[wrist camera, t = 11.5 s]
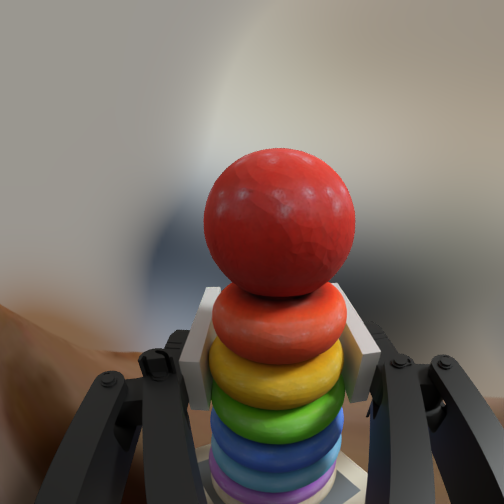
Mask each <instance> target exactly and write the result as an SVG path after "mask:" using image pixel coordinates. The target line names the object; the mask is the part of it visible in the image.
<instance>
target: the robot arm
mask: <svg viewBox="0 0 504 504" xmlns="http://www.w3.org/2000/svg"><path fill="white" fill-rule="evenodd" d="M331 284H332V285H334V286H335V287H336V288H337V289H338V290H339V292H340V293H341V294H342V296H343V298H344V300H345V303H346V308H347V320H346V325H345V328H344V330H343V332H342V334H341V336H340V337H339V340H340V342H341V344H342V347H343V352H344V365H343V369H342V372H341V374H342V376H343V379H344V384H345V390H346V393H347V396H348V398H349V401H350V403H355V402H361V401H366V400H367V398H368V395H369V392H370V393H371V395H372V398H373V399H372V402H371V404H370V407H369V410H368V412H367V416H366V417H369V415H370V446H369V464H368V477H367V487H366V496H365V504H435V487H434V472H433V461H432V454H433V456H434V458H435V461H436V464H437V466H438V469H439V471H440V474H441V477H442V479H443V482H444V485H445V488H446V490H447V493H448V496H449V499H450V502H451V504H504V429H503V427H502V426H501V424H500V422H499V421H498V419H497V418H496V416H495V414H494V413H493V411H492V410H491V408H490V407H489V405H488V404H487V402H486V401H485V399H484V398H483V396H482V395H481V394H480V392H479V391H478V389H477V388H476V387H475V385H474V384H473V382H472V381H471V380H470V378H469V377H468V376H467V374H466V373H465V371H464V370H463V369H462V367H461V366H460V365H459V363H458V362H457V361H456V360H455V359H454V358H452V357H450V356H448V355H438V356H435V357H434V358H433V359H432V361H431V364H415V363H414V361H413V360H412V359H411V358H410V357H409V356H407V355H404V354H399V353H398V352H397V350H396V349H395V347H394V346H393V344H392V343H391V341H390V340H389V339H388V337H387V336H386V334H384V331H383V330H382V328H381V327H380V326H379V325H377V324H376V323H374V322H364V323H363V322H362V320H361V318H360V317H359V315H358V314H357V312H356V311H355V309H354V308H353V306H352V305H351V303H350V301H349V300H348V298H347V297H346V295H345V294H344V292H343V291H342V289H341V288H340V286H339V285H338V283H331ZM220 293H221V292H220V287H207V288H206V291H205V293H204V296H203V299H202V301H201V303H200V306H199V308H198V311H197V314H196V317H195V319H194V322H193V324H192V327H191V329H190V330H176V331H175V332H174V333H172V334H171V335H170V337H169V339H168V341H167V344H166V345H165V349H162V348H155V349H151V350H148V351H146V352H144V353H142V354H141V355H140V356H139V359H138V362H139V365H140V368H141V371H142V374H143V377H141V378H136V379H126V380H125V379H124V376H123V375H122V374H121V373H120V372H117V371H107V372H103V373H101V374H100V375H98V376H97V377H96V379H95V380H94V382H93V384H92V385H91V387H90V389H89V391H88V392H87V394H86V396H85V398H84V400H83V401H82V403H81V405H80V407H79V409H78V411H77V413H76V414H75V416H74V418H73V420H72V422H71V424H70V426H69V428H68V430H67V432H66V434H65V436H64V438H63V440H62V442H61V444H60V446H59V448H58V450H57V452H56V454H55V456H54V458H53V461H52V463H51V465H50V467H49V469H48V472H47V474H46V476H45V478H44V481H43V483H42V485H41V488H40V490H39V493H38V495H37V498H36V500H35V503H34V504H121V501H122V497H123V493H124V489H125V485H126V481H127V477H128V474H129V470H130V466H131V463H132V459H133V456H134V452H135V449H136V445H137V442H138V438H139V435H140V432H141V428H143V460H144V477H145V489H146V499H147V504H208V503H207V499H206V495H205V491H204V487H203V483H202V479H201V475H200V471H199V466H198V462H197V457H196V452H195V447H194V442H193V437H192V432H191V426H190V421H189V415H188V412H187V407H188V403H189V404H190V408H191V409H192V410H208V411H209V407H210V402H211V391H212V382H213V376H212V374H211V371H210V367H209V350H210V348H211V345H212V343H213V341H214V340H215V338H216V336H217V334H216V332H215V329H214V326H213V322H212V310H213V305H214V302H215V300H216V299H217V297H218V295H219V294H220ZM443 400H444V401H445V403H446V405H445V404H444V403H443ZM431 451H432V452H431Z"/></svg>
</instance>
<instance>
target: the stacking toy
mask: <svg viewBox="0 0 504 504" xmlns="http://www.w3.org/2000/svg"><path fill="white" fill-rule="evenodd" d="M354 233H355V211H354V207H353V203H352V199H351V197H350V194H349V191H348V189H347V188H346V186H345V184H344V182H343V181H342V179H341V178H340V177H339V175H338V174H337V173H336V172H335V171H334V170H333V169H332V168H331V167H330V166H329V165H327V164H326V163H325V162H323V161H322V160H320V159H319V158H317V157H315V156H313V155H310V154H308V153H305V152H302V151H298V150H293V149H285V148H273V149H265V150H260V151H257V152H253V153H251V154H248V155H245V156H243V157H242V158H240V159H238V160H237V161H235V162H234V163H232V164H231V165H230V166H229V167H228V168H226V170H225V171H224V172H223V173H222V174H221V175H220V176H219V178H218V179H217V180H216V181H215V183H214V185H213V187H212V189H211V191H210V193H209V196H208V199H207V202H206V207H205V211H204V234H205V239H206V243H207V246H208V248H209V250H210V253H211V256H212V258H213V260H214V261H215V263H216V264H217V265H218V267H219V268H220V270H221V271H222V272H223V273H224V274H225V275H226V276H227V277H228V278H229V279H230V280H231V281H232V283H231V284H229V285H228V286H227V287H226V288H224V289H223V290H222V291H221V293H220V294H219V295H218V297H217V299H216V300H215V302H214V305H213V310H212V322H213V326H214V329H215V332H216V334H217V336H216V338H215V340H214V341H213V343H212V345H211V348H210V350H209V367H210V371H211V374H212V376H213V382H212V391H211V400H212V404H213V408H212V411H211V421H210V422H211V429H212V438H211V448H210V452H209V466H210V470H211V479H212V484H213V486H214V489H215V491H216V493H217V494H218V496H219V497H220V498H221V499H222V501H223V502H224V503H226V504H319V503H320V502H321V501H322V500H323V499H324V498H325V497H326V496H327V494H328V493H329V491H330V490H331V488H332V486H333V484H334V481H335V477H336V470H337V466H336V460H337V456H338V454H339V451H340V447H341V432H342V428H343V422H344V417H343V409H342V405H343V402H344V397H345V384H344V379H343V376H342V374H341V372H342V369H343V365H344V352H343V347H342V344H341V342H340V340H339V337H340V336H341V334H342V332H343V330H344V328H345V325H346V320H347V308H346V303H345V300H344V298H343V296H342V294H341V293H340V292H339V290H338V289H337V288H336V287H335V286H334V285H332V284H331V283H329V282H328V281H329V280H330V279H331V278H332V277H333V276H334V275H335V274H336V273H337V271H338V270H339V269H340V268H341V266H342V265H343V263H344V262H345V260H346V259H347V256H348V254H349V252H350V249H351V247H352V243H353V239H354Z"/></svg>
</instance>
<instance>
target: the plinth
mask: <svg viewBox="0 0 504 504" xmlns="http://www.w3.org/2000/svg"><path fill="white" fill-rule="evenodd" d="M210 448H211V444H208V445H205V446H202V447H199V448H196V449H195V452H196V457H197V462H198V466H199V471H200V475H201V479H202V483H203V487H204V491H205V495H206V499H207V503H208V504H226V503H224V502H223V501H222V499H221V498H220V497H219V496H218V494H217V493H216V491H215V489H214V486H213V484H212V479H211V470H210V466H209V452H210ZM336 466H337V470H336V477H335V481H334V484H333V486H332V488H331V490H330V491H329V493H328V494H327V496H326V497H325V498H324V499H323V500H322V501H321V502H320V503H319V504H365V496H366V487H367V477H368V473H366V472H365V471H364V470H363V469H362V468H360V467H359V466H358V465H357V464H355V463H354V462H353V461H352V460H351V459H350V458H348V457H347V456H346V455H345V454H344V453H343V452H341V451H339V454H338V456H337V460H336Z"/></svg>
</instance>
